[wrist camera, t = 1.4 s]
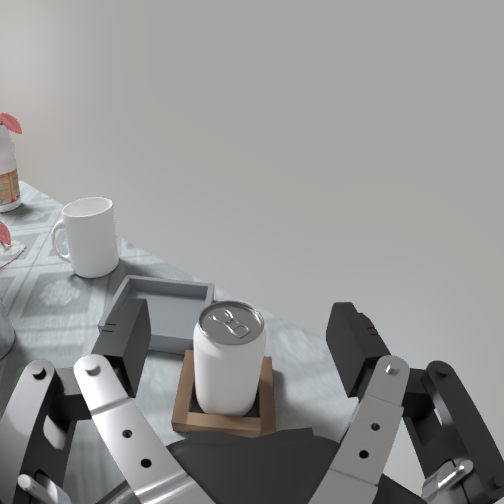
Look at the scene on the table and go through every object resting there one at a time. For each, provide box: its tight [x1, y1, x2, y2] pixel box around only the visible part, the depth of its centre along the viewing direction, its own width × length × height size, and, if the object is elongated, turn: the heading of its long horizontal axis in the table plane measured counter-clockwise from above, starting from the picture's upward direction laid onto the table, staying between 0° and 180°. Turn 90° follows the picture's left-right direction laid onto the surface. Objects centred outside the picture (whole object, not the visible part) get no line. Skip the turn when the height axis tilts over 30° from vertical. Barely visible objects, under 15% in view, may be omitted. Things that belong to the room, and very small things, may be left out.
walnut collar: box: [171, 350, 276, 438], centre depth 30 cm, size 10×10×2 cm
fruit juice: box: [0, 122, 21, 212], centre depth 64 cm, size 9×9×28 cm
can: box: [193, 301, 266, 417], centre depth 28 cm, size 6×6×12 cm
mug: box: [52, 197, 119, 278], centre depth 47 cm, size 10×12×12 cm
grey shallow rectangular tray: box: [98, 275, 214, 355], centre depth 40 cm, size 14×12×3 cm
